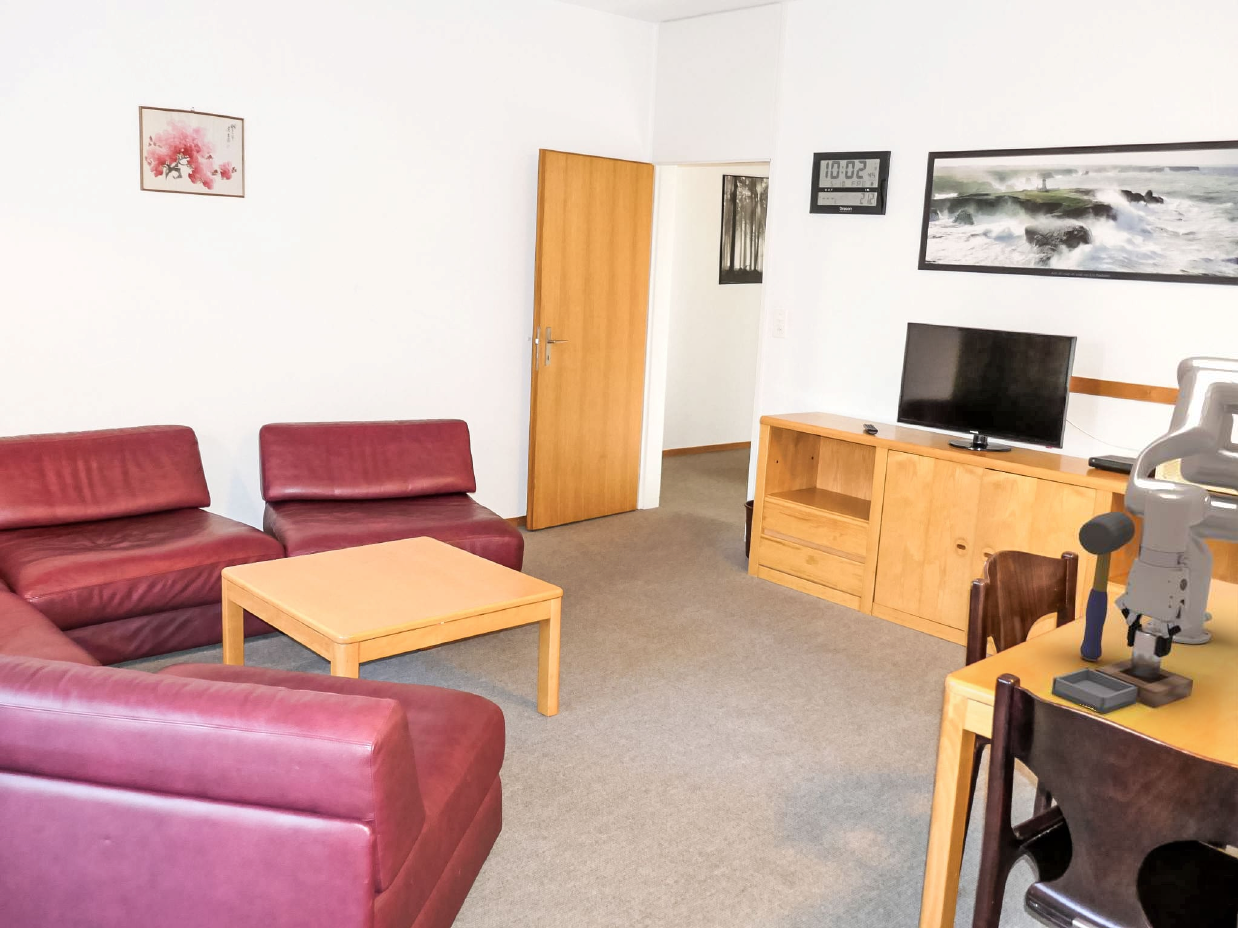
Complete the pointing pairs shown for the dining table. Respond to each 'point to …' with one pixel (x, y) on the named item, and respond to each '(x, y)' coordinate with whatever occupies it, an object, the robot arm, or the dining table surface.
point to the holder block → (1151, 684)
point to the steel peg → (1146, 652)
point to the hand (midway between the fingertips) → (1147, 649)
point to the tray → (1094, 690)
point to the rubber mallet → (1101, 572)
